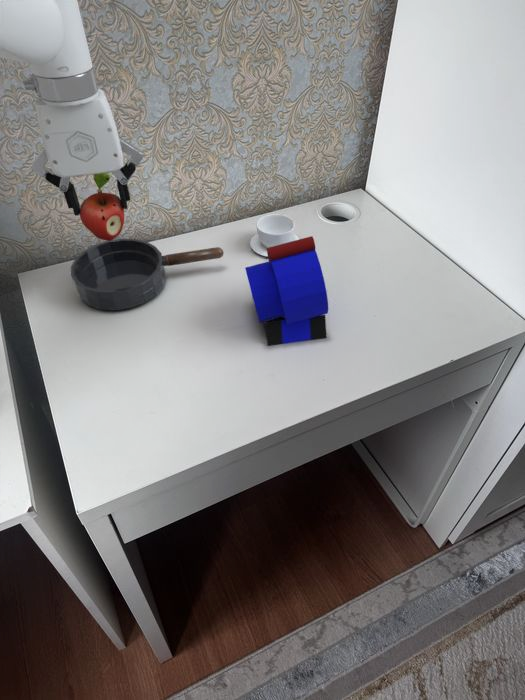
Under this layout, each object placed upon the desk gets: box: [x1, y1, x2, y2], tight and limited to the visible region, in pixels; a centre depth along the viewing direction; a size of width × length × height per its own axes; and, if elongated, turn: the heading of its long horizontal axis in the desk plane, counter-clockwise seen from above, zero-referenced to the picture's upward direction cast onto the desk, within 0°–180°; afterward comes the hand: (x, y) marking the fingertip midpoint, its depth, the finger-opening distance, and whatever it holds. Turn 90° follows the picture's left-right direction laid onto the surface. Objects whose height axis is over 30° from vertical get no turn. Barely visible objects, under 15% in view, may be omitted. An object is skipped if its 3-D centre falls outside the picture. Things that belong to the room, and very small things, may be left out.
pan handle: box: [162, 246, 224, 267], centre depth 86 cm, size 12×2×2 cm, turn 104°
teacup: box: [249, 213, 300, 258], centre depth 93 cm, size 10×10×5 cm
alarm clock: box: [244, 235, 329, 347], centre depth 75 cm, size 12×12×15 cm
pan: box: [70, 238, 167, 311], centre depth 85 cm, size 16×16×4 cm
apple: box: [79, 173, 125, 241], centre depth 76 cm, size 8×7×10 cm
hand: (101, 207), depth 76 cm, fingers closed on apple, 6 cm apart
